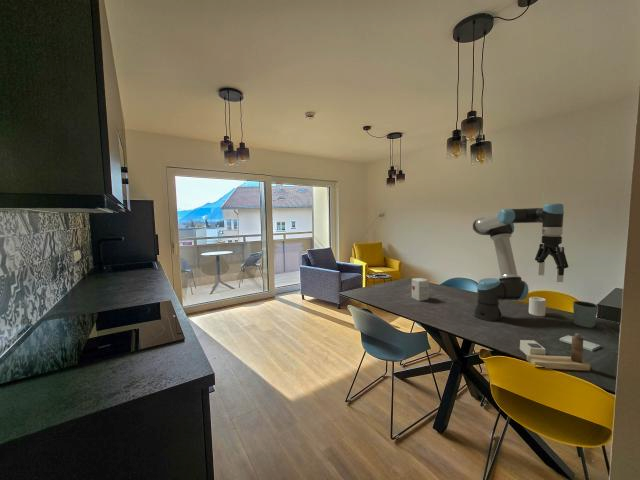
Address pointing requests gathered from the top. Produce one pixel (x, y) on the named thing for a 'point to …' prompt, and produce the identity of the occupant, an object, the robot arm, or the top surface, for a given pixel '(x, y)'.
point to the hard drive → (586, 344)
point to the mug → (537, 306)
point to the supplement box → (420, 289)
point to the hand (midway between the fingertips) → (549, 278)
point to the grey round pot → (584, 313)
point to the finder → (531, 347)
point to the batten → (557, 362)
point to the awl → (577, 348)
